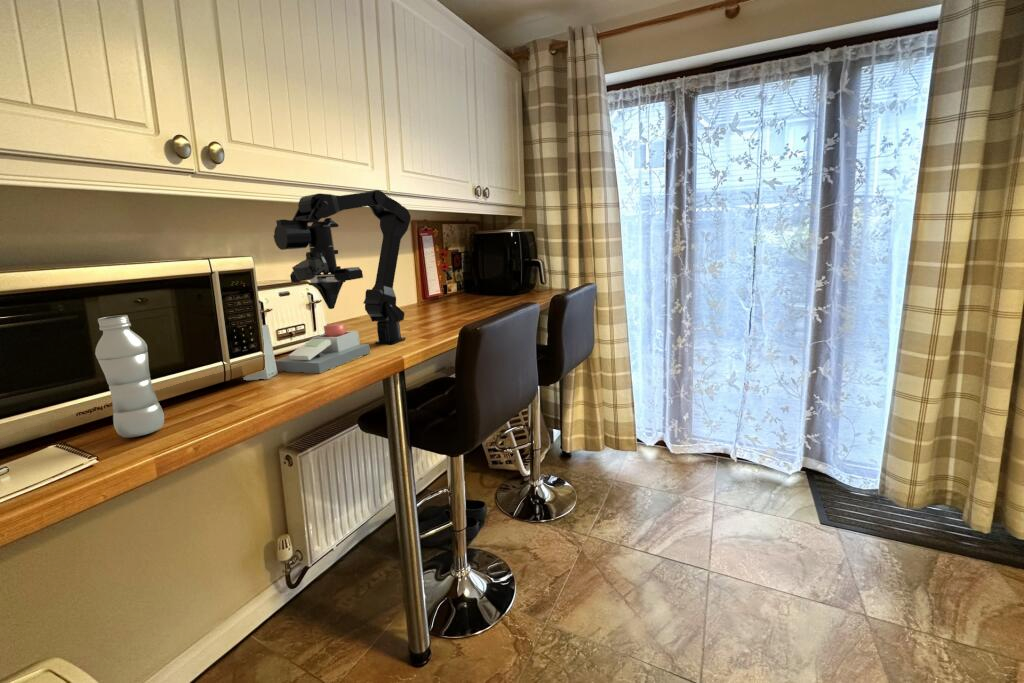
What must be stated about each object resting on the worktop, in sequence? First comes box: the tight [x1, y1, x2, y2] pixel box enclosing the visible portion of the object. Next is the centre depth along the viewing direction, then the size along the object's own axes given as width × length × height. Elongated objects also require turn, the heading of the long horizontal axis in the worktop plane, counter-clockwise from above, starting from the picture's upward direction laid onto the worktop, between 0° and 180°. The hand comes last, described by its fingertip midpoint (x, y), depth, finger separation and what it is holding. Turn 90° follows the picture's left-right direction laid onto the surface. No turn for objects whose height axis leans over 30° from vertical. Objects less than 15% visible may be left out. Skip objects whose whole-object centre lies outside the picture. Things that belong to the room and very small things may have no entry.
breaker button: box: [323, 323, 346, 337], centre depth 123 cm, size 5×5×4 cm
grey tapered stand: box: [242, 324, 279, 381], centre depth 108 cm, size 6×4×12 cm
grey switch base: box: [275, 330, 371, 374], centre depth 119 cm, size 18×14×6 cm
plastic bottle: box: [94, 314, 165, 439], centre depth 77 cm, size 6×7×20 cm
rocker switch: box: [287, 339, 331, 360], centre depth 115 cm, size 8×6×1 cm
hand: (331, 308), depth 121 cm, fingers closed
